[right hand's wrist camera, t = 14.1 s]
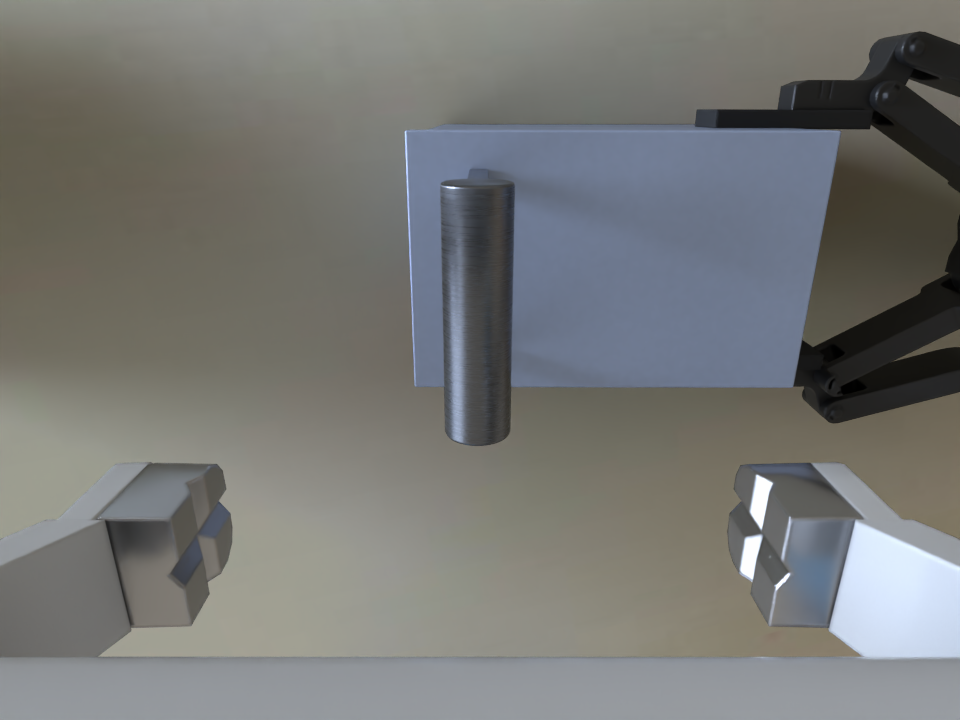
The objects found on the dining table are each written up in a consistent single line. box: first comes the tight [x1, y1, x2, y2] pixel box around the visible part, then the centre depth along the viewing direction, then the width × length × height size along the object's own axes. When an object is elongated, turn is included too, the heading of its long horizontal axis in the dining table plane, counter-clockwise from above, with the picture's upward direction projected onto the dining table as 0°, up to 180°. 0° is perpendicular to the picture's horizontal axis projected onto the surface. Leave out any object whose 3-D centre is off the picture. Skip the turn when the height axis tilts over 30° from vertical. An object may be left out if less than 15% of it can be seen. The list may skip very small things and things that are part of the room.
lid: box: [405, 130, 841, 446], centre depth 22 cm, size 16×10×8 cm, turn 90°
